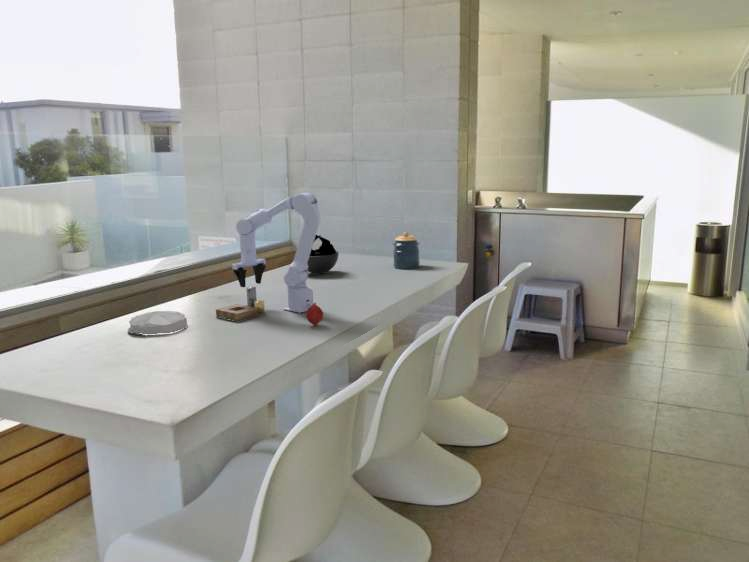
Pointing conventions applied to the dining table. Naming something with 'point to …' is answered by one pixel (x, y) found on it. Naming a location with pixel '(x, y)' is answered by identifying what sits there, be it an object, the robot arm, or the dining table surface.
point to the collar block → (237, 312)
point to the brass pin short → (260, 306)
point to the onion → (314, 314)
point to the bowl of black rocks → (322, 257)
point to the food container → (158, 322)
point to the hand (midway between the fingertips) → (250, 285)
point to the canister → (406, 252)
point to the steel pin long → (251, 296)
